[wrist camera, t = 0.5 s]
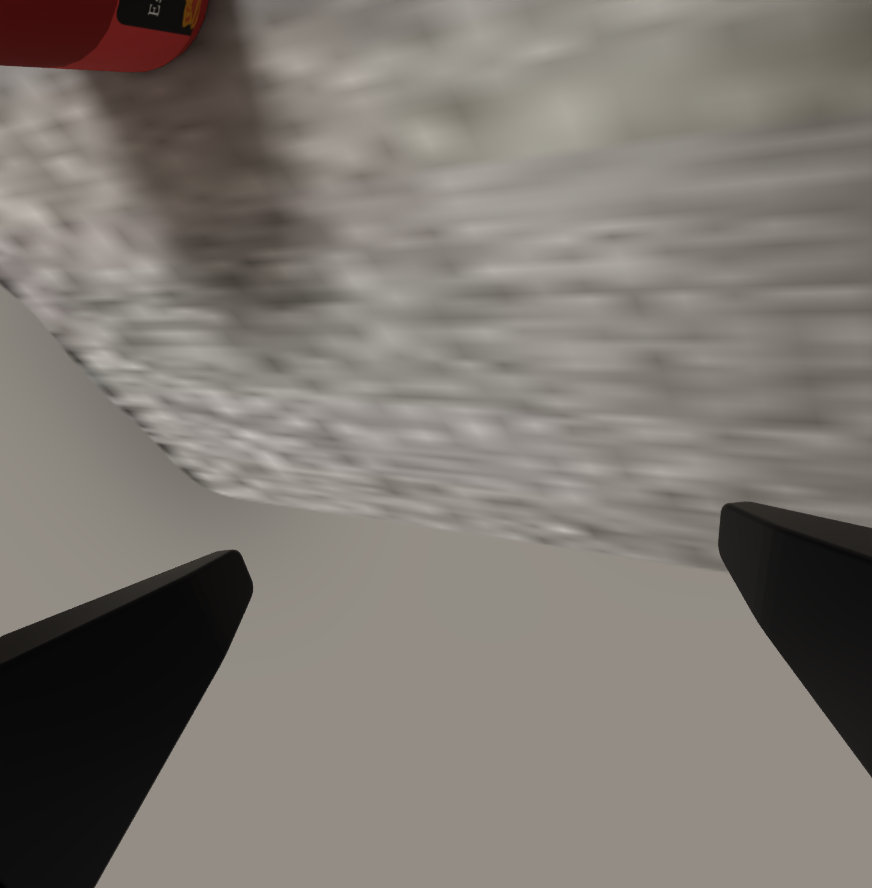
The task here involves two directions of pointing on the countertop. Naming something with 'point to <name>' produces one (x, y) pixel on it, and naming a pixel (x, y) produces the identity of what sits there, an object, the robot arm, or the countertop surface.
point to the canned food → (97, 33)
